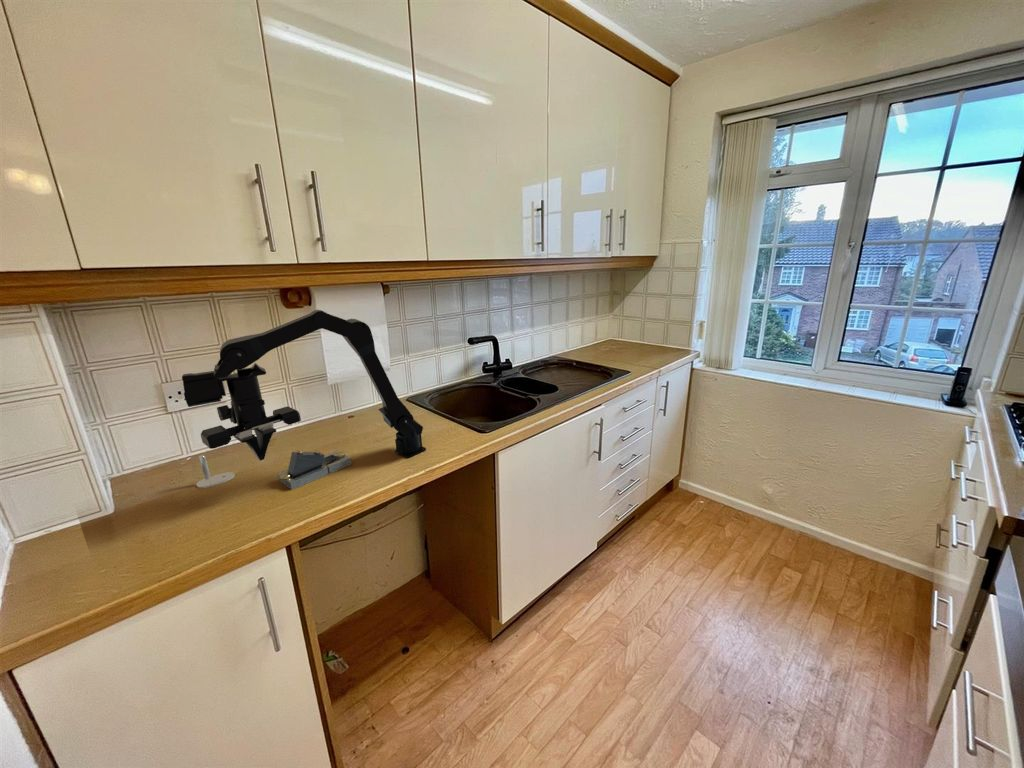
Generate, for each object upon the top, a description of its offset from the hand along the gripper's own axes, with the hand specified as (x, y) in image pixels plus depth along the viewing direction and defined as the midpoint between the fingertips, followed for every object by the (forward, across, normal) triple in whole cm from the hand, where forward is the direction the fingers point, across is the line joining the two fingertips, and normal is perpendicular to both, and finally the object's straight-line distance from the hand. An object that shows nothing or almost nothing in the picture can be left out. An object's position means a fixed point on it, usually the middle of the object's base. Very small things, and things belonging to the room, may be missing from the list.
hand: (261, 459), depth 96 cm
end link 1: (+9, -8, 0) cm, 12 cm away
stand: (+9, +6, -17) cm, 20 cm away
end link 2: (+9, -16, 0) cm, 19 cm away
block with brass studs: (+7, -8, 0) cm, 11 cm away
